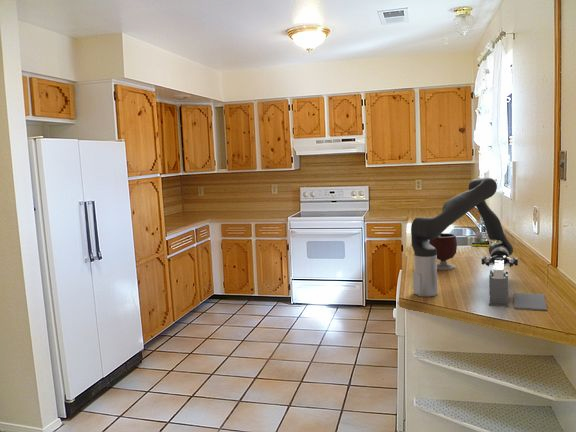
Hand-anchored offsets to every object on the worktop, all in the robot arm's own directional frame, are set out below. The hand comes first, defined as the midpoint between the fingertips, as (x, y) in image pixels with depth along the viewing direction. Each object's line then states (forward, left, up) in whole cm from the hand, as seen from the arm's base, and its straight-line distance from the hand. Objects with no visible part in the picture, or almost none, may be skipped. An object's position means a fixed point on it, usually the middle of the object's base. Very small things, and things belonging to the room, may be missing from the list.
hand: (499, 264), depth 206 cm
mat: (+3, -14, -13) cm, 19 cm away
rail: (-5, -7, -2) cm, 9 cm away
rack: (-7, -10, -13) cm, 17 cm away
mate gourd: (+5, +55, -13) cm, 56 cm away
